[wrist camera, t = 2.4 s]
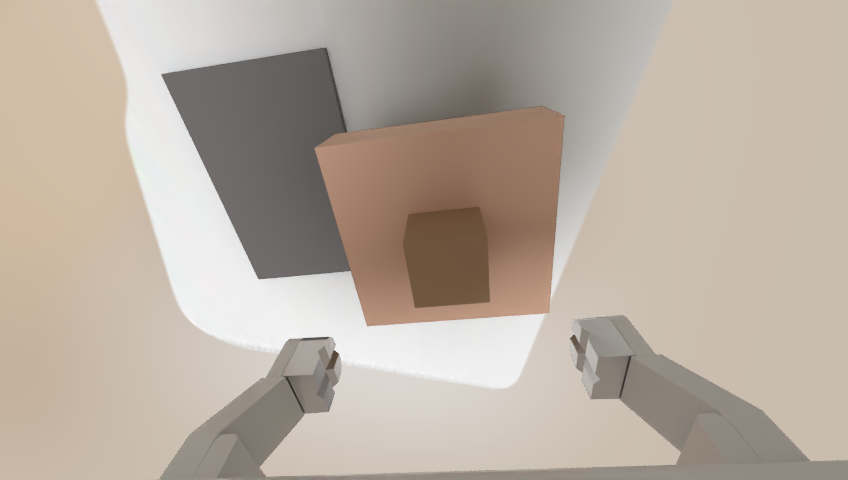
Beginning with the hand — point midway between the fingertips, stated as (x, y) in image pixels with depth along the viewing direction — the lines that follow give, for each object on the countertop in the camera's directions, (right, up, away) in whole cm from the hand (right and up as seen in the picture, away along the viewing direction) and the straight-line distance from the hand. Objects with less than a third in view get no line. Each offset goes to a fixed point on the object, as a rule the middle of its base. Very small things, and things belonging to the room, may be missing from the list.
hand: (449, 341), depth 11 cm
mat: (-12, +8, +16) cm, 22 cm away
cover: (0, +4, +6) cm, 7 cm away
